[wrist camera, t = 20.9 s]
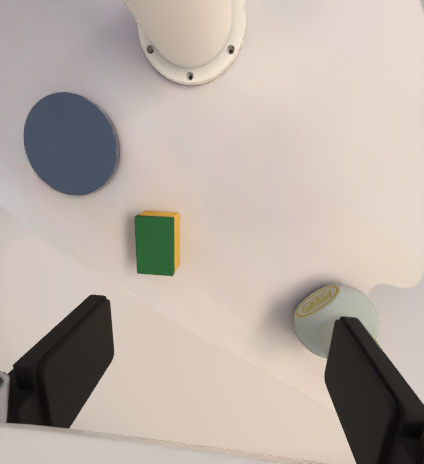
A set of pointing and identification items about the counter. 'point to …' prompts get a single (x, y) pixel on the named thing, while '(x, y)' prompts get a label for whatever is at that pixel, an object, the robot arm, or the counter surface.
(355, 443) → the robot arm
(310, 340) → the air freshener
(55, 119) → the plate
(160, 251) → the sponge
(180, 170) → the counter surface
